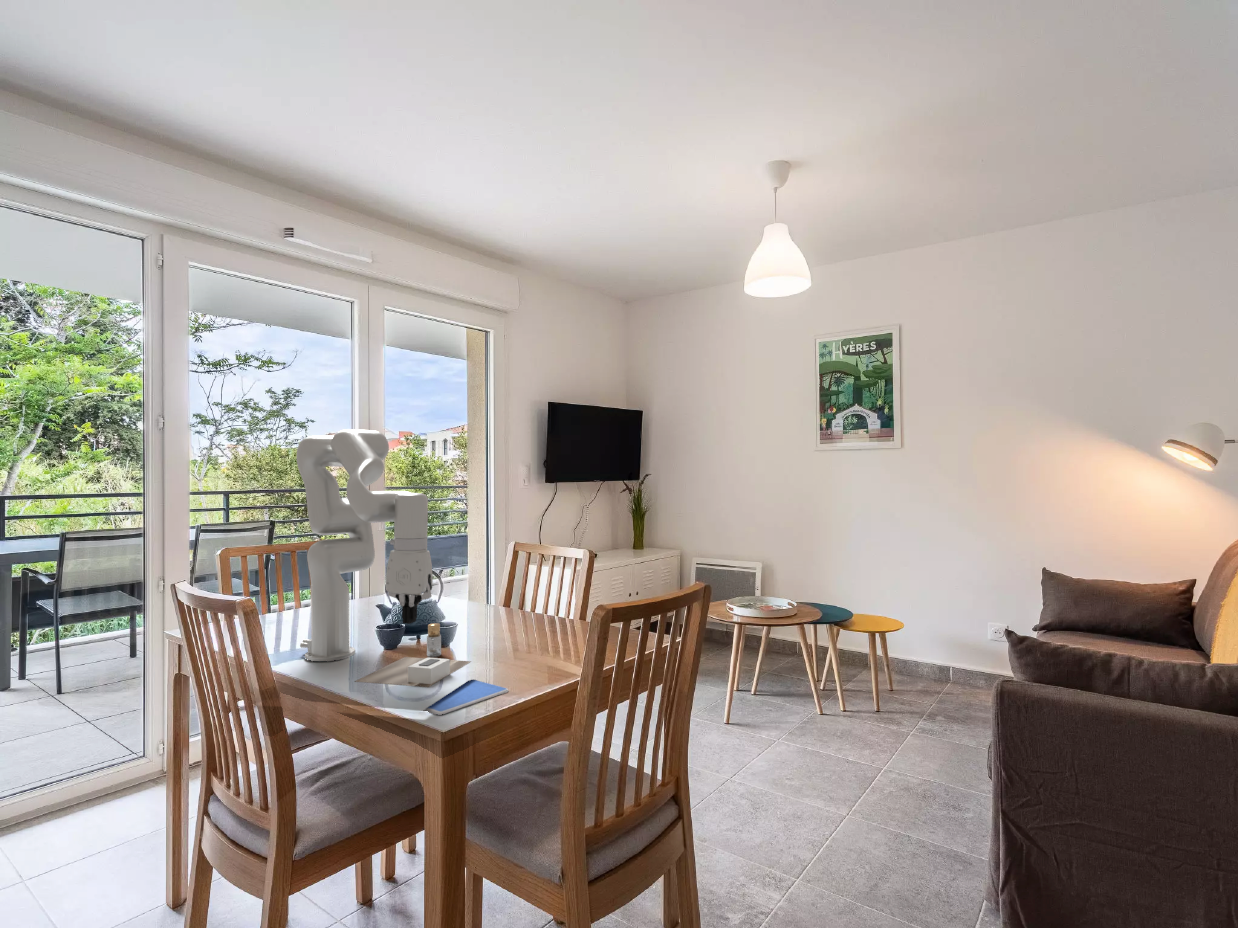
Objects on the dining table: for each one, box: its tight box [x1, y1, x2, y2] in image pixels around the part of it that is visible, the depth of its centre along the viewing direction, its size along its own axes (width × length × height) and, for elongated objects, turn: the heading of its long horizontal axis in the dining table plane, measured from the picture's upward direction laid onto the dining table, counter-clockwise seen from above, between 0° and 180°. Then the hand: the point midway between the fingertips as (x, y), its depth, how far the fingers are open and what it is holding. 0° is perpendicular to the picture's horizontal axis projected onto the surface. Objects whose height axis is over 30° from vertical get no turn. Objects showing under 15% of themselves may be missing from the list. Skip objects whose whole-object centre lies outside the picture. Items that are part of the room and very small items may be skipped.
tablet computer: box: [423, 679, 509, 716], centre depth 145 cm, size 19×13×1 cm, turn 143°
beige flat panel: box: [354, 656, 472, 688], centre depth 160 cm, size 19×21×2 cm
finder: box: [408, 657, 451, 684], centre depth 155 cm, size 6×8×4 cm
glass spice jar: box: [426, 622, 442, 658], centre depth 175 cm, size 4×4×10 cm
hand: (409, 622), depth 157 cm, fingers closed
